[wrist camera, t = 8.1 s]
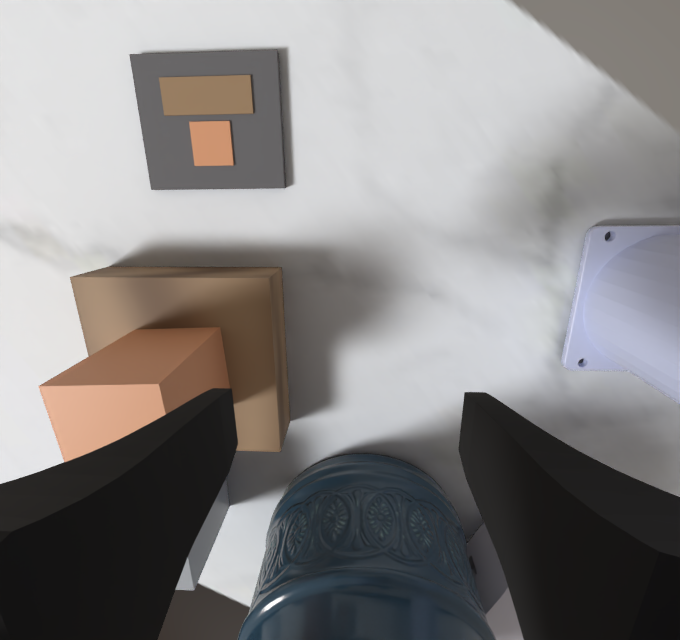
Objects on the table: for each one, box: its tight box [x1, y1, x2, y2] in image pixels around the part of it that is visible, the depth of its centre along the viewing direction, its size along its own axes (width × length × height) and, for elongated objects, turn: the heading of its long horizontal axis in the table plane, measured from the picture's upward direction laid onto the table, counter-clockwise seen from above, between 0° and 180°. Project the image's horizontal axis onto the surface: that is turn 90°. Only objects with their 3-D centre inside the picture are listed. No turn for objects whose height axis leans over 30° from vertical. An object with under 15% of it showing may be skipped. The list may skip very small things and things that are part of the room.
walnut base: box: [70, 267, 290, 452], centre depth 21 cm, size 10×10×4 cm
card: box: [130, 50, 286, 190], centre depth 18 cm, size 7×6×1 cm
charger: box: [466, 522, 524, 640], centre depth 25 cm, size 5×9×15 cm
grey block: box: [175, 479, 230, 590], centre depth 23 cm, size 4×4×6 cm
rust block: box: [39, 327, 230, 462], centre depth 17 cm, size 4×4×6 cm
